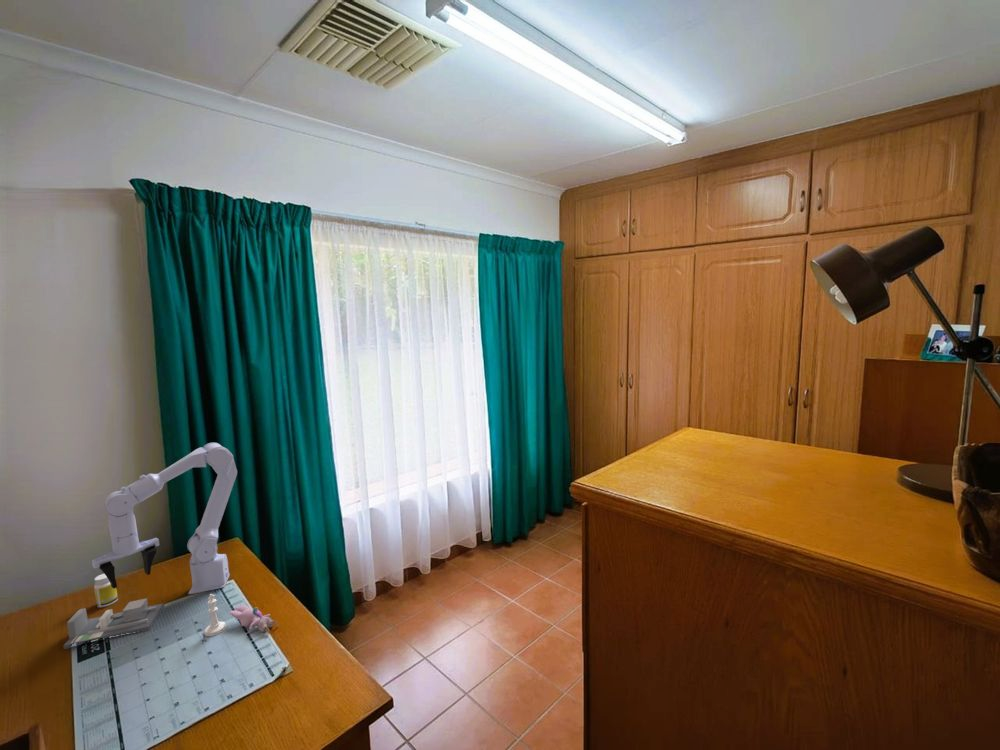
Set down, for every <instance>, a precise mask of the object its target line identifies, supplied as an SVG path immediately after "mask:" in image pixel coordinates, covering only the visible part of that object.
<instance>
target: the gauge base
mask: <svg viewBox="0 0 1000 750" xmlns="http://www.w3.org/2000/svg"><path fill="white" fill-rule="evenodd" d="M163 608H165V603H164V602H163V603H157V604H154V605H150V606H149V605H148V609H149V611H148V613H147V614H146V616H145V617H144V619H143V620H138V621H134V622H129V623H125V624H124V619H123V617H120V618H115V619H113V620H112V621H111V623H110V624H109V625H108V626H107V627H106V628H102V629H100V626H99V627H98V628H96V625H97V624H98V623H99V619H100V618H101V617H102V615H101V616H97V617H92V618H88V614H87V609H86V608H80V609H78V610H77V611H76V612H75V614H73V615H72V617H70V618H69V620H68V621H67V622H66V628H67V633H68V639H67V640H66V642H65V643H64V644H63V645H62V647H63V650H66V649H71V646H72V644H74V643H78V642H79V643H80V642H84V641H89V640H95V639H100V638H107V637H110V636H116V635H121V634H126V633H133V632H138V631H142V632H146V631H150V629H151V628H152V626H153V625H154V623H155V621H156V620H157V618H158V617H159V615H160V614H161V612H162V610H163ZM120 613H123V612H122V611H120V612H116V613H115V612H114V613H113V615H115V614H120ZM145 630H146V631H145ZM138 633H139V632H138ZM133 634H134V633H133Z"/></svg>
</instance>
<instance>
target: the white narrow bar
mask: <svg viewBox="0 0 1000 750" xmlns="http://www.w3.org/2000/svg"><path fill="white" fill-rule="evenodd" d="M113 614H114V613H113V609H112V608H111V609H107V610H105V612H104V613H103V614H102V615H101V616H102V617H101V616H100V617H101V618H100V619H99V623H98V624H97V625H96V628H98V627H99V626H100V629H102V628H106V627H107V626H108V625H109V624H110V623H111V621H112V620H113V619H110V617H111V615H113Z"/></svg>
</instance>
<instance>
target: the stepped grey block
mask: <svg viewBox="0 0 1000 750" xmlns="http://www.w3.org/2000/svg"><path fill="white" fill-rule="evenodd" d="M148 606H149V604H148V598H141V599H138V600H133V601H128V603H127V604H126V605H125V607H124V608H123V609H122V611H121V612H123V613H120V612H119V613H120V614H115V613H114V614H115V615H111V617H110V619H115V618H120V617H123V619H124V624H125V623H129V622H134V621H138V620H143V619H144V617H145V616H146V614H147V613H148V611H149V609H148Z"/></svg>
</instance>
